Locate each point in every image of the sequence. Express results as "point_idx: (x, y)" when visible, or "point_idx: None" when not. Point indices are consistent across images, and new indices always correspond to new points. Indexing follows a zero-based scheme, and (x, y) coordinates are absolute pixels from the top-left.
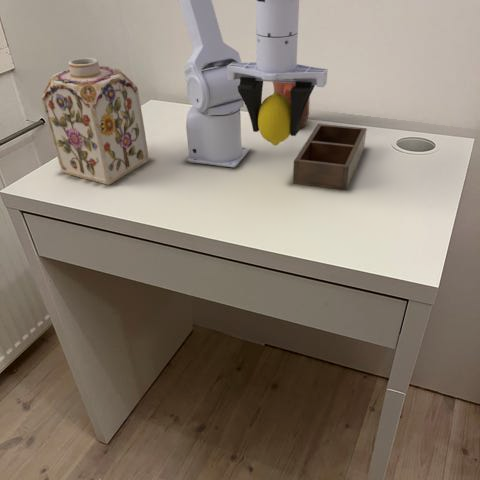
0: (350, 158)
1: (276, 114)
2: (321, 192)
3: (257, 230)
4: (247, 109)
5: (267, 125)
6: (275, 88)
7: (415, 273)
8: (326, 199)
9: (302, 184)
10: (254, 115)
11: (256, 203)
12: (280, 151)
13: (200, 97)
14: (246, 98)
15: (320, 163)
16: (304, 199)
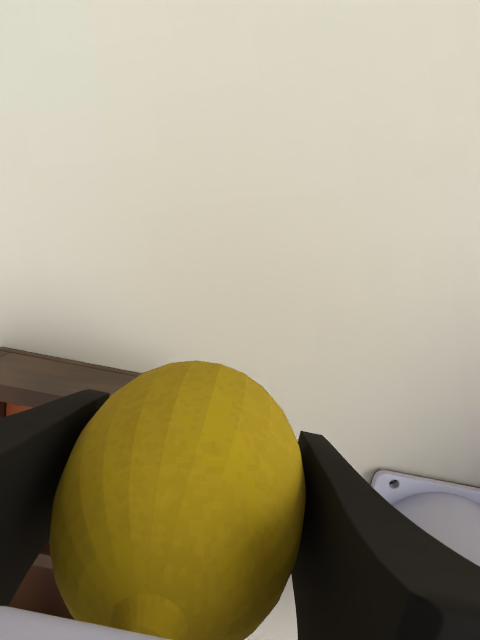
0: None
1: (151, 419)
2: (74, 326)
3: (247, 34)
4: (393, 508)
5: (228, 383)
6: None
7: None
8: (52, 281)
9: (140, 373)
10: (329, 475)
11: (274, 230)
12: None
13: None
14: (437, 556)
15: (49, 397)
16: (120, 274)
